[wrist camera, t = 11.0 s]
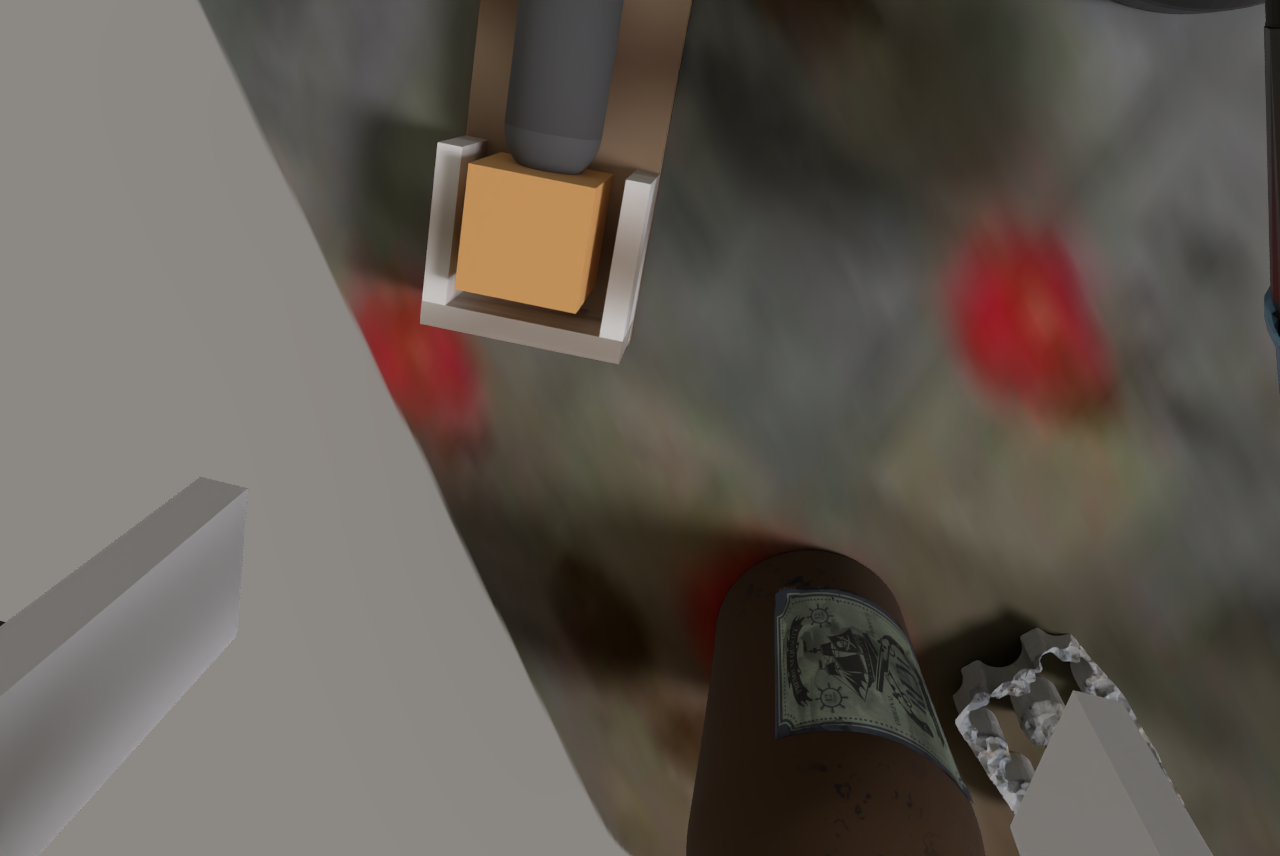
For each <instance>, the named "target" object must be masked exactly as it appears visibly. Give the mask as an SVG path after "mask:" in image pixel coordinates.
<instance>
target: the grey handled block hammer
mask: <svg viewBox="0 0 1280 856" xmlns="http://www.w3.org/2000/svg"><path fill="white" fill-rule="evenodd" d="M623 3H624V0H519V7H518V15H517V23H516V31H515V40H514V48H513V56H512V64H511V72H510V81H509V89H508V97H507V105H506V113H505V122H504V133H505V140H506V143H507V146H508V149H509V152H510V153H511V154H508V153H503V152H500V153H497V154H494V155H491V156H488V157H485V158H482V159H479V160H476V161H473V162H470V163H468V172H467V181H466V190H465V199H464V208H463V217H462V226H461V236H460V245H459V254H458V263H457V272H456V281H455V289H456V290H461V291H466V292H471V293H476V294H481V295H486V296H491V297H496V298H501V299H505V300H510V301H515V302H520V303H525V304H530V305H535V306H540V307H545V308H550V309H555V310H559V311H564V312H569V313H574V314H576V313H577V311H578V310H579V309H580V307H581V306H582V304H583V303H584V302H585V300H586V299H587V297H588V296H589V294H590V293H591V292H592V290H593V289H594V287H595V285H596V279H597V273H598V267H599V260H600V254H601V248H602V242H603V236H604V230H605V224H606V218H607V212H608V206H609V200H610V194H611V188H612V182H613V176H614V174H609V173H604V172H599V171H594V170H589V169H586V168H587V167H588V166H589V165H590V164H591V163H592V161H593V160H594V159H595V157H596V155H597V153H598V150H599V148H600V144H601V140H602V136H603V129H604V123H605V117H606V110H607V104H608V98H609V91H610V85H611V79H612V72H613V66H614V60H615V54H616V47H617V41H618V35H619V28H620V22H621V16H622V9H623Z"/></svg>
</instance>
